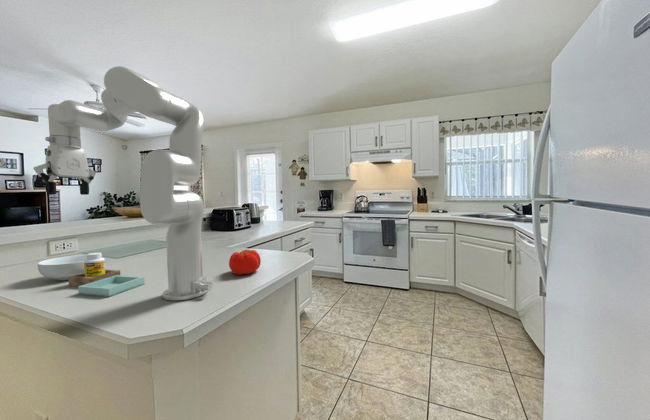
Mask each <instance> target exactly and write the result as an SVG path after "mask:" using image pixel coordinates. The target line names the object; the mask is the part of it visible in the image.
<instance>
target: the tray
mask: <svg viewBox="0 0 650 420" xmlns="http://www.w3.org/2000/svg"><path fill="white" fill-rule="evenodd" d="M143 285H145V276H133V275H120V276H119V275H116V276H112V277H109V278H105V279H102V280H98V281H95V282H92V283H88V284H85V285H81V286H77V292H78V293H77V294H78V295H82V296H91V297H93V296H94V297H102V298H103V297H105V298H111V297H114V296H117V295H119V294H121V293H124V292H127V291H129V290H133V289H136V288H138V287H141V286H143Z"/></svg>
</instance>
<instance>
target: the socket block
mask: <svg viewBox="0 0 650 420" xmlns="http://www.w3.org/2000/svg"><path fill="white" fill-rule="evenodd" d="M116 275H119V276H121V269H120V270H119V269H105V274H102V275H99V276H95V277H85V273H82V274H78V275H74V276H70V277H68V279H69V280H68V286H69V287H78V286H81V285H85V284H88V283H92V282H95V281H98V280H102V279H105V278H109V277H112V276H116Z"/></svg>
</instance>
